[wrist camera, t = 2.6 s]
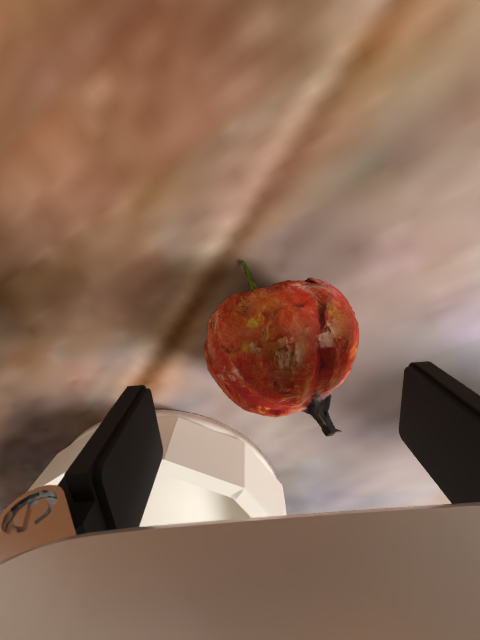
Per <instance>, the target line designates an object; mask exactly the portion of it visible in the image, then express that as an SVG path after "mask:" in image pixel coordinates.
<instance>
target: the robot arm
mask: <svg viewBox="0 0 480 640" xmlns="http://www.w3.org/2000/svg"><path fill="white" fill-rule="evenodd" d="M399 433H400V436H401V439H402V440H403V441H404V443H405V444H406V445H407V447H408V448H409V449H410V450H411V452H412V453H413V454H414V456H415V457H416V458H417V459H418V461H419V462H420V463H421V465H422V466H423V467H424V468H425V470H426V471H427V472H428V473H429V475H430V476H431V477H432V479H433V480H434V481H435V482H436V484H437V485H438V486H439V488H440V489H441V490H442V491H443V493H444V494H445V495H446V497H447V498H448V499H449V500H450V502H451V503H452V504H444V505H428V506H413V507H397V508H382V509H367V510H353V511H338V512H324V513H310V514H296V515H282V516H268V517H255V518H242V519H229V520H216V521H203V522H190V523H177V524H166V525H154V526H143V527H139V526H140V523H141V520H142V517H143V514H144V511H145V508H146V505H147V502H148V499H149V496H150V493H151V490H152V487H153V484H154V481H155V479H156V476H157V473H158V470H159V467H160V464H161V461H162V458H163V445H162V440H161V436H160V431H159V426H158V422H157V417H156V412H155V408H154V403H153V398H152V394H151V390H150V389H146V387H145V386H144V385H138V386H128V387H127V388H126V389H125V391H124V392H123V393H122V395H121V396H120V397H119V399H118V400H117V402H116V403H115V404H114V406H113V407H112V409H111V410H110V411H109V413H108V414H107V416H106V417H105V418H104V420H103V421H102V422H101V424H100V425H99V427H98V428H97V429H96V431H95V432H94V434H93V435H92V436H91V438H90V439H89V441H88V442H87V443H86V445H85V446H84V447H83V449H82V450H81V452H80V453H79V454H78V456H77V457H76V459H75V460H74V461H73V463H72V464H71V466H70V467H69V468H68V470H67V471H66V473H65V474H64V477H63V478H62V480H61V481H60V482H59V484H58V485H45V486H41V487H38V488H35V489H33V490H31V491H28V492H27V493H25V494H23V495H22V496H20V497H18V498H17V499H16V500H14V501H13V502H12V503H11V504H9V505H8V506H7V507H6V508H5V510H4V511H3V512H2V513H1V514H0V640H480V396H479V395H478V394H476V393H475V392H473V391H472V390H471V389H469V388H468V387H466V386H465V385H463V384H462V383H460V382H459V381H457V380H456V379H454V378H453V377H452V376H450V375H449V374H447V373H446V372H444V371H443V370H441V369H440V368H438V367H437V366H435V365H434V364H433V363H431V362H429V361H426V362H414V363H410V365H409V367H406V368H405V370H404V379H403V390H402V401H401V412H400V422H399Z"/></svg>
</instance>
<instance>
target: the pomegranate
mask: <svg viewBox="0 0 480 640" xmlns="http://www.w3.org/2000/svg"><path fill="white" fill-rule="evenodd" d="M242 263H243V266H244V270H245V273H246V275H247V277H248V279H249V287H250V289H251V290H252V291H248V292H244V293H241V294H233V295H231V296H230V297H228V298H227V299H226V300H225V301H224V302H223V303H222V304H221V305H220V306H219V307H218V308H217V309H216V311H215V312H214V313H213V314H212V315H211V316H210V318H209V321H208V338H207V340H206V342H205V344H204V352H205V358H206V362H207V367H208V370H209V372H210V374H211V376H212V377H213V378H214V380H215V381H216V382H217V384H218V385H219V387H220V388H221V389H222V390H223V392H224V393H225V394H226V395H227V396H228V397H229V398H230V399H231V400H232V401H233V402H234V403H236V404H237V405H238V406H239V407H241V408H242V409H244V410H246V411H249V412H253V413H256V414H260V415H265V416H271V417H280V416H285V415H289V414H292V413H296V412H299V411H303V412H306V413H308V414H310V415H312V417H313V418H314V419H315V420H316V421H317V422H318V424H319V425H320V426H321V428H322V431H323V433H324V434H325V435H326V436H332V435H333V434H336V433H339V432H342V431H340V430H338V429H336V428H335V427H334V425H333V423H332V421H331V419H330V416H329V413H328V410H329V406H330V401H331V391H332V390H333V389H335V388H337V387H338V386H340V385H341V384H342V383H343V382H344V380H345V378H346V377H347V376H348V375H349V373H350V371H351V367H352V364H353V361H354V359H355V356H356V353H357V349H358V343H359V328H358V322H357V320H356V318H355V312H354V311H353V310H352V307H351V306H350V305H349V302H348V301H347V299H346V298H345V296H344V295H343V294H342V293H341V292H340V291H339V290H338V289H336V288H335V287H333V286H332V285H330V284H328V283H326V282H324V281H322V280H318V279H314V278H308V279H307V280H305V281H291V280H287V281H284V282H280V283H276V284H273V285H272V286H270V287H263V288H258V287H257V285H256V284H255V282H254V280H253V278H252V276H251V274H250V272H249V270H248V268H247V266H246V264H245V263H244V261H243V260H242Z"/></svg>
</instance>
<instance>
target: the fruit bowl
mask: <svg viewBox="0 0 480 640" xmlns="http://www.w3.org/2000/svg"><path fill="white" fill-rule="evenodd" d="M155 412H156V417H157V422H158V426H159V431H160V436H161V440H162V445H163V458H162V461H161V464H160V467H159V470H158V473H157V476H156V479H155V481H154V484H153V487H152V490H151V493H150V496H149V499H148V502H147V505H146V508H145V511H144V514H143V517H142V520H141V523H140V526H139V527H143V526H154V525H166V524H177V523H190V522H203V521H216V520H229V519H242V518H255V517H268V516H282V515H287V514H286V507H285V500H284V493H283V486H282V485H281V483H280V482H279V480H278V477H277V474H276V473H275V471H274V469H273V467H272V465H271V463H270V462H269V461H268V459H267V458H266V457H265V455H264V454H263V453H262V452H261V451H260V450H259V449H258V448H257V447H256V446H255V445H254V444H253V443H252V442H251V441H249V440H248V439H247V438H246V437H244V436H243V435H242V434H240V433H238V432H237V431H235V430H233V429H232V428H230V427H228V426H226V425H224V424H222V423H220V422H217V421H215V420H213V419H210V418H207V417H203V416H200V415H197V414H192V413H187V412H183V411H174V410H155ZM101 422H102V421H101ZM101 422H99V423H97V424H95V425H93V426H92V427H90V428H88V429H87V430H86V431H84V432H83V433H82V434H80V435H79V436H78V437H77V438H76V439H75V440H74V441H73V442H72V443H71V444H70V446H68V447H67V448H65V449H64V450H62V451H61V452H59V453H58V454H57V455H56V456H55V457H54V459H53V460H52V461H51V462H50V464H49V465H48V466H47V467H46V469H45V470H44V471H43V472H42V474H41V475H40V476H39V477H38V479H37V480H36V481H35V482H34V484H33V485H32V486H31V487H30V489H29V490H28V491H31V490H33V489H35V488H38V487H41V486H45V485H58V484H59V482H60V481H61V480H62V478H63V477H64V474H65V473H66V471H67V470H68V468H69V467H70V466H71V464H72V463H73V461H74V460H75V459H76V457H77V456H78V454H79V453H80V452H81V450H82V449H83V447H84V446H85V445H86V443H87V442H88V441H89V439H90V438H91V436H92V435H93V434H94V432H95V431H96V429H97V428H98V427H99V425H100V424H101ZM28 491H27V492H28ZM27 492H26V493H27Z"/></svg>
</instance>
